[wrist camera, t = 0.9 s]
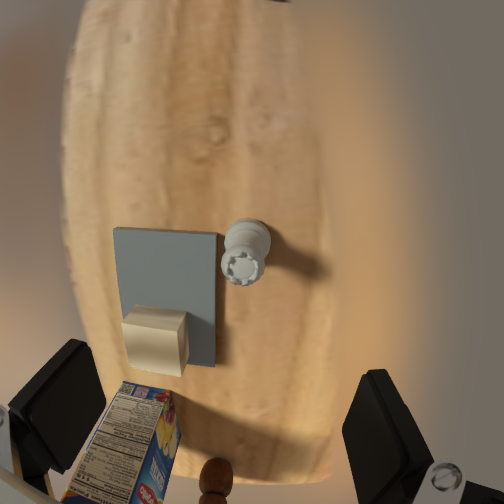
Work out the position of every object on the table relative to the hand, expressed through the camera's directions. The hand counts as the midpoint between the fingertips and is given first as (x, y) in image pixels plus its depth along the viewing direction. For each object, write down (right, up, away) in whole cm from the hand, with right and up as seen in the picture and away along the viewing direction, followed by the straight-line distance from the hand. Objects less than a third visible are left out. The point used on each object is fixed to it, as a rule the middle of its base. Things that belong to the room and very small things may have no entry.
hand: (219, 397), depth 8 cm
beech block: (-9, -4, +22) cm, 24 cm away
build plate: (-8, -1, +22) cm, 23 cm away
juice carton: (-14, -20, +28) cm, 37 cm away
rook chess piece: (+1, +6, +20) cm, 21 cm away
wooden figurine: (-5, -34, +33) cm, 47 cm away
